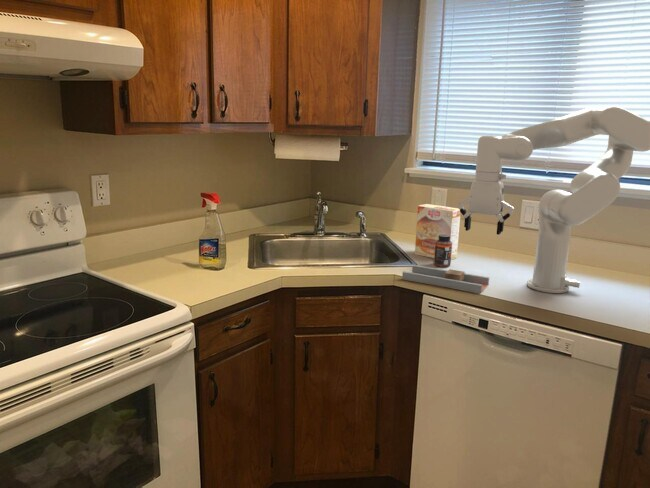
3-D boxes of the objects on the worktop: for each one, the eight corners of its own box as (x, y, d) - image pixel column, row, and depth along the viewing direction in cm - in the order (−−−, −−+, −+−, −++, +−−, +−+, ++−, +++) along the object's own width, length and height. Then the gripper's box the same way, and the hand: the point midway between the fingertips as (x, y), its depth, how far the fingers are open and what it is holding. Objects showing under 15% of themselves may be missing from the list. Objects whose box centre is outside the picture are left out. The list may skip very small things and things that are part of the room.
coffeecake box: (414, 254, 212) (417, 205, 207) (423, 251, 217) (426, 203, 212) (448, 261, 202) (452, 210, 198) (457, 258, 208) (461, 208, 203)
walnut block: (463, 283, 177) (464, 271, 176) (459, 287, 173) (460, 275, 172) (448, 280, 180) (449, 269, 179) (444, 284, 176) (445, 272, 175)
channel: (488, 284, 176) (489, 277, 176) (480, 293, 167) (481, 285, 167) (413, 271, 188) (413, 264, 188) (402, 279, 180) (402, 272, 179)
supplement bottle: (450, 268, 194) (453, 237, 191) (433, 266, 195) (436, 236, 192) (450, 263, 200) (452, 234, 197) (433, 262, 201) (436, 233, 198)
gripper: (519, 178, 163) (514, 233, 168) (463, 174, 172) (459, 226, 176) (514, 180, 157) (508, 237, 161) (456, 176, 166) (452, 230, 170)
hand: (483, 231), depth 169 cm, fingers open, 9 cm apart
